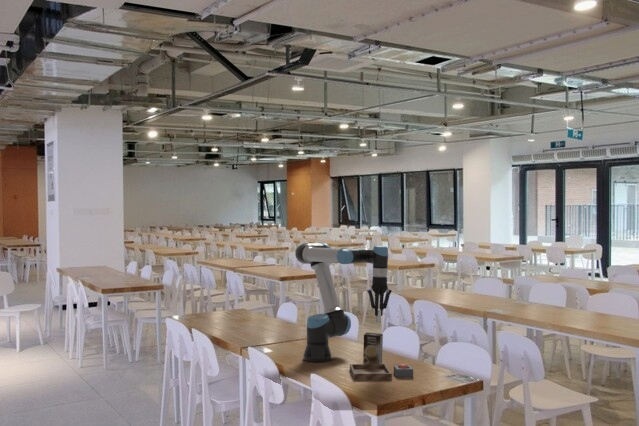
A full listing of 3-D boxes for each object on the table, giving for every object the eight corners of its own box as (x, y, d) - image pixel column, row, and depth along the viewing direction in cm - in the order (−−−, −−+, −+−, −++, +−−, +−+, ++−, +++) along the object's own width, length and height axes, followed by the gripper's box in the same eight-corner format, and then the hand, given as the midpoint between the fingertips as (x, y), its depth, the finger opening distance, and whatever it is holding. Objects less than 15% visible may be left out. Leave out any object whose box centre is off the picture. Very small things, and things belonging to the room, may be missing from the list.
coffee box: (362, 365, 303) (362, 334, 303) (365, 362, 309) (366, 332, 309) (380, 367, 300) (380, 335, 300) (382, 364, 306) (383, 333, 306)
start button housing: (396, 377, 281) (396, 369, 281) (393, 373, 289) (393, 365, 289) (413, 377, 282) (413, 369, 282) (409, 373, 290) (409, 364, 290)
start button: (400, 372, 283) (400, 366, 283) (398, 370, 287) (398, 363, 287) (408, 372, 284) (408, 365, 284) (406, 370, 288) (406, 363, 288)
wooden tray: (353, 380, 276) (353, 373, 276) (349, 370, 294) (349, 364, 294) (391, 379, 277) (391, 373, 277) (385, 370, 295) (385, 364, 295)
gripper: (370, 277, 296) (368, 323, 296) (394, 277, 299) (392, 323, 299) (365, 275, 303) (364, 320, 303) (389, 275, 306) (387, 320, 306)
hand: (378, 322), depth 301 cm, fingers closed
